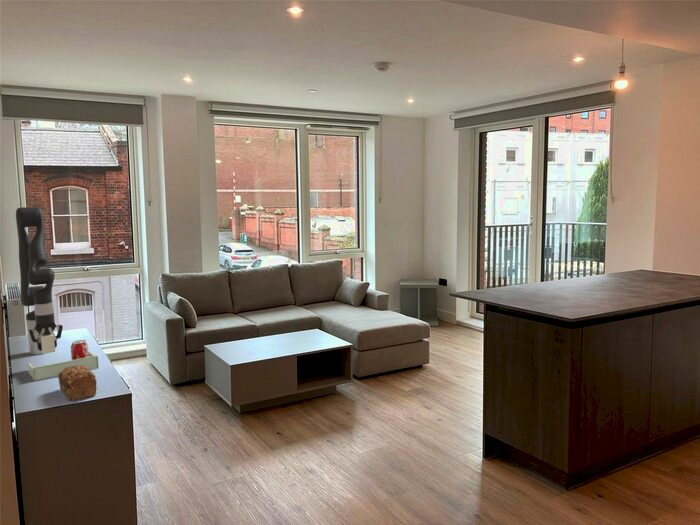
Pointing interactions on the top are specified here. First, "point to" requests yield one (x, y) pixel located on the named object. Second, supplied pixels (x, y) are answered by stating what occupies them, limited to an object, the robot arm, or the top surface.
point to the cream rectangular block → (47, 343)
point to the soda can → (79, 349)
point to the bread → (77, 382)
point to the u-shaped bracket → (61, 367)
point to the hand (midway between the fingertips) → (47, 349)
